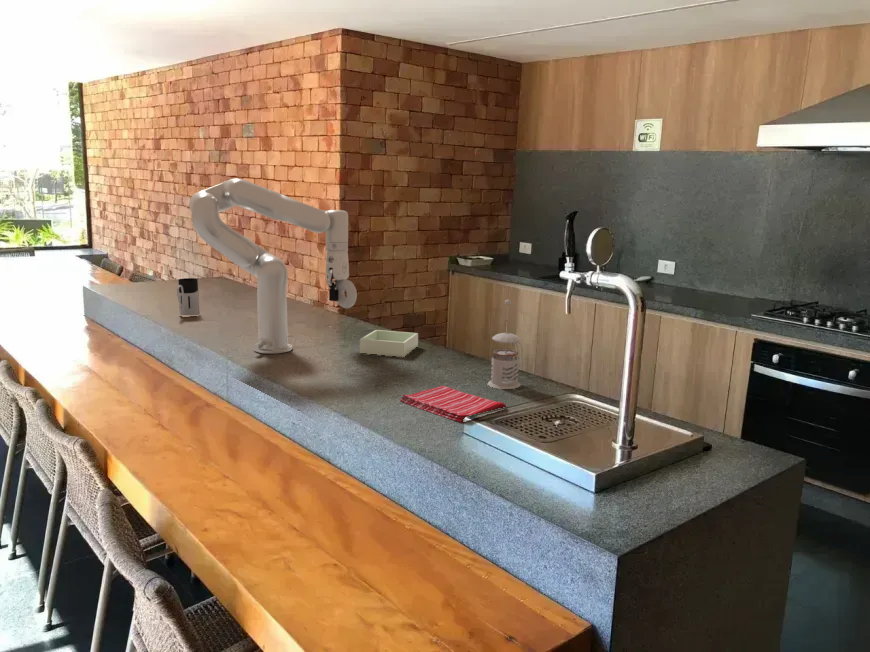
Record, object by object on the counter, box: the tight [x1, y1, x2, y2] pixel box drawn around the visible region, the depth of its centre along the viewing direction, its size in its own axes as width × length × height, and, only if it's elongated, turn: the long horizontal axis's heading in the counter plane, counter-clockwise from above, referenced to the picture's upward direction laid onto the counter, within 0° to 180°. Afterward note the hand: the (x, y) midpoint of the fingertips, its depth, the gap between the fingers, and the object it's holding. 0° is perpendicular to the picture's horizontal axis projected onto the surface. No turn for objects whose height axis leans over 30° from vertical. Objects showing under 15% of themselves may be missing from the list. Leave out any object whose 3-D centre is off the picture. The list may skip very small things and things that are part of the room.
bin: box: [359, 329, 419, 358], centre depth 242 cm, size 16×16×5 cm
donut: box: [336, 278, 358, 309], centre depth 242 cm, size 10×3×10 cm, turn 47°
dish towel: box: [399, 385, 507, 424], centre depth 185 cm, size 17×24×3 cm
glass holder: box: [176, 277, 201, 315], centre depth 290 cm, size 9×14×15 cm, turn 174°
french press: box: [487, 299, 524, 390], centre depth 203 cm, size 10×12×25 cm
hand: (336, 299), depth 245 cm, fingers closed on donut, 3 cm apart
